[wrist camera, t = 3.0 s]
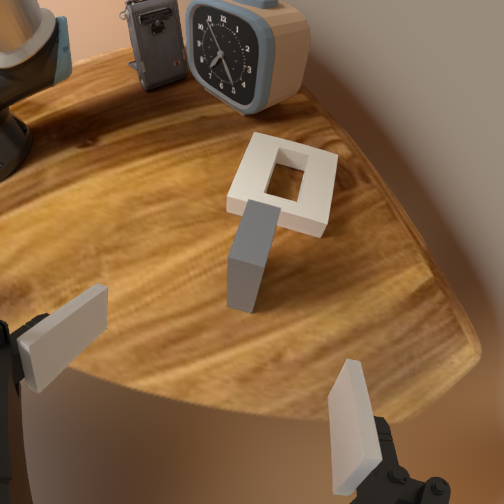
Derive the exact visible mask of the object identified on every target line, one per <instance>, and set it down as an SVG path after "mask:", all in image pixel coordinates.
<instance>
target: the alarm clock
mask: <svg viewBox="0 0 504 504" xmlns="http://www.w3.org/2000/svg"><path fill="white" fill-rule="evenodd" d="M310 40H311V37H310V28H309V25H308V23H307V20H306V19H305V18H304V16H303V15H302V14H301V13H300V11H298V10H296V9H295V8H293V7H291V6H290V5H288V4H286V3H283V2H281V1H278V0H193V1H192V2H191V3H190V4H189V6H188V8H187V13H186V44H187V59H188V64H189V68H190V70H191V72H192V75H193V76H194V78H195V79H196V81H198V82H199V83H200V84H201V85H202V86H203V87H204V89H205V90H206V91H207V92H209V93H210V94H212V95H213V96H215V97H216V98H218V99H219V100H221V101H222V102H223V103H225V104H226V105H228V106H229V107H231V108H232V109H233V110H235V111H236V112H238V113H239V114H240V115H242V116H243V117H244V116H246V115H248V114H256V113H258V112H260V111H262V110H264V109H266V108H268V107H271V106H273V105H275V104H277V103H279V102H282V101H284V100H286V99H288V98H291V97H292V96H294V95H296V94H297V92H298V91H299V89H300V87H301V83H302V80H303V75H304V71H305V66H306V61H307V57H308V52H309V48H310Z"/></svg>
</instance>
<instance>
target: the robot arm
mask: <svg viewBox="0 0 504 504" xmlns="http://www.w3.org/2000/svg"><path fill="white" fill-rule="evenodd" d="M71 74H72V61H71V52H70V44H69V35H68V26H67V19H66V17H64V16H62V17H56V18H55V17H54V15H53V13H52V12H51V11H50V10H48V9H45V8H40V7H39V4H38V2H37V0H0V181H2V180H3V179H5V178H6V177H7V176H9V175H10V174H11V173H12V172H13V171H14V170H15V169H16V168H17V167H18V166H19V165H20V164H21V163H22V162H23V160H24V159H25V158H26V156H27V154H28V153H29V151H30V149H31V146H32V142H33V136H32V134H31V132H30V130H29V128H28V126H27V125H26V124H25V123H24V122H23V121H22V120H20V119H19V118H18V117H17V116H16V115H15V114H14V113H12V112H11V111H10V109H9V106H10V105H13V104H15V103H17V102H19V101H21V100H23V99H25V98H27V97H29V96H32V95H34V94H36V93H38V92H41V91H43V90H45V89H48V88H50V87H54V86H55V85H56V84H58V83H60V82H62V81H64V80H66V79H68V78H69V77H70V75H71ZM107 304H108V287H107V286H104V285H101V284H99V283H96V284H95V285H93V286H92V287H90V288H89V289H87V290H86V291H84V292H83V293H81V294H80V295H78V296H77V297H75V298H74V299H72V300H71V301H69V302H68V303H66V304H65V305H63V306H62V307H61V308H59V309H58V310H56V311H55V312H53V313H52V314H48V313H44V314H41V315H38V316H36V317H35V318H33V319H32V320H31V321H29V322H27V323H26V324H25V325H23V326H22V327H20V328H19V329H17V330H16V331H14V332H13V333H12V334H9V328H8V325H7V323H6V322H4V321H2V320H0V504H33V501H32V496H31V491H30V485H29V479H28V473H27V466H26V459H25V450H24V440H23V428H22V409H21V384H20V381H21V380H22V379H23V378H24V377H25V381H26V385H27V387H28V388H30V389H31V390H33V391H35V392H36V393H38V394H39V393H40V392H41V391H42V390H43V389H44V388H45V387H46V386H47V385H48V384H49V383H50V382H51V381H52V380H53V379H54V378H55V377H56V376H58V374H60V373H61V372H62V371H63V370H64V369H65V368H66V367H67V366H68V365H69V364H70V363H71V362H72V361H73V360H74V359H75V358H76V357H77V356H78V355H79V354H80V353H81V352H82V351H84V350H85V349H86V348H87V347H88V346H89V345H90V344H91V343H92V342H93V341H94V340H95V339H96V338H97V337H98V336H99V335H100V334H102V333H103V332H104V331H105V330H106V329H107ZM328 406H329V420H330V436H331V453H332V475H333V476H332V477H333V494H335V495H347V496H350V495H351V494H352V493H353V492H354V491H355V490H357V497H356V498H355V499H354V500H353V501H352V502H351V503H350V504H448V503H449V499H450V491H451V490H450V486H449V484H448V483H447V482H446V481H445V480H444V479H442V478H440V477H432V478H430V479H429V480H427V481H426V482H421V481H417V480H415V479H412V478H410V476H409V474H408V472H407V470H405V469H404V468H403V467H401V466H399V464H398V460H397V455H396V451H395V447H394V443H393V439H392V436H391V431H390V427H389V425H388V423H387V422H386V421H385V419H384V418H383V417H376V416H373V412H372V408H371V403H370V399H369V395H368V391H367V387H366V382H365V378H364V374H363V370H362V366H361V363H360V361H356V360H352V359H346V361H345V363H344V365H343V368H342V370H341V372H340V374H339V376H338V378H337V380H336V382H335V384H334V386H333V388H332V390H331V392H330V393H329V395H328Z"/></svg>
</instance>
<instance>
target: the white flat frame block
mask: <svg viewBox="0 0 504 504" xmlns="http://www.w3.org/2000/svg"><path fill="white" fill-rule="evenodd" d="M337 161H338V155H337V154H334V153H331V152H328V151H324V150H321V149H318V148H314V147H311V146H307V145H304V144H300V143H296V142H293V141H289V140H285V139H281V138H278V137H274V136H270V135H266V134H262V133H257V132H254V134H253V136H252V138H251V140H250V143H249V145H248V147H247V150H246V152H245V154H244V157H243V159H242V161H241V164H240V166H239V168H238V171H237V173H236V176H235V178H234V180H233V183H232V185H231V188H230V190H229V192H228V195H227V212H229V213H233V214H236V215H240V216H243V213H244V210H245V207H246V205H247V202H248V199H250V200H254V201H258V202H261V203H265V204H269V205H272V206H276V207H280V208H281V211H280V215H279V218H278V222H277V226H280V227H283V228H287V229H290V230H294V231H297V232H301V233H304V234H308V235H311V236H315V237H318V238H321V236H322V234H323V232H324V230H325V228H326V226H327V224H328V218H329V212H330V206H331V200H332V194H333V188H334V181H335V174H336V168H337ZM276 163H277V164H281V165H285V166H288V167H292V168H295V169H299V170H302V171H304V174H303V178H302V182H301V186H300V191H299V195H298V199H297V202H295V201H291V200H287V199H284V198H280V197H277V196H273V195H269V194H266V191H267V188H268V185H269V182H270V179H271V176H272V173H273V170H274V167H275V164H276Z"/></svg>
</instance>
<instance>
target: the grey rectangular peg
mask: <svg viewBox="0 0 504 504" xmlns="http://www.w3.org/2000/svg"><path fill="white" fill-rule="evenodd" d="M280 211H281V208H280V207H276V206H272V205H269V204H265V203H261V202H258V201H254V200H250V199H248V202H247V205H246V207H245V210H244V213H243V216H242V219H241V221H240V224H239V227H238V230H237V233H236V235H235V238H234V241H233V244H232V247H231V250H230V252H229V255H228V274H227V307H230V308H234V309H237V310H241V311H244V312H247V313H251V314H252V311H253V308H254V304H255V301H256V298H257V294H258V291H259V287H260V284H261V280H262V277H263V273H264V270H265V266H266V263H267V259H268V255H269V252H270V248H271V244H272V241H273V237H274V233H275V230H276V226H277V222H278V218H279V215H280Z"/></svg>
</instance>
